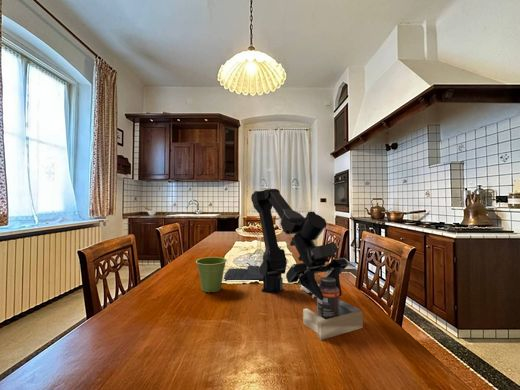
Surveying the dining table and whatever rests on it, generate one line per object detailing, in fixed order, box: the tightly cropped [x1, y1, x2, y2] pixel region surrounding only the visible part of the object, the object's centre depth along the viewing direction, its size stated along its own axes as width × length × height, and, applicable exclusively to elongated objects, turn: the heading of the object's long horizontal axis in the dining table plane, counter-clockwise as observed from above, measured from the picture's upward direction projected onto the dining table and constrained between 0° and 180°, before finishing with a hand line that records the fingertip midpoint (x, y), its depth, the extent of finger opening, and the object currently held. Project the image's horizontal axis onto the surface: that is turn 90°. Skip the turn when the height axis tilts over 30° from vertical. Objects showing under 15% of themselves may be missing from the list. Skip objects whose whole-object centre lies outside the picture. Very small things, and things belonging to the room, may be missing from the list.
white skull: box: [300, 284, 320, 299], centre depth 99 cm, size 5×7×10 cm
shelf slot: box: [302, 300, 364, 341], centre depth 73 cm, size 9×14×4 cm, turn 116°
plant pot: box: [195, 256, 228, 293], centre depth 104 cm, size 12×12×11 cm
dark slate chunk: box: [223, 264, 263, 281], centre depth 121 cm, size 15×22×5 cm
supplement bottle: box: [316, 276, 340, 319], centre depth 74 cm, size 6×6×11 cm
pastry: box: [314, 273, 323, 286], centre depth 113 cm, size 9×7×4 cm
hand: (331, 297), depth 73 cm, fingers closed on supplement bottle, 6 cm apart
